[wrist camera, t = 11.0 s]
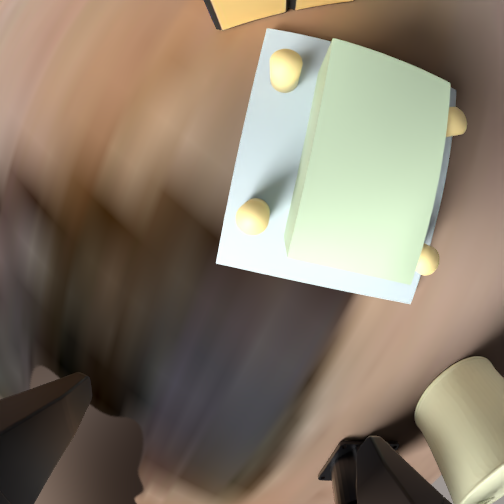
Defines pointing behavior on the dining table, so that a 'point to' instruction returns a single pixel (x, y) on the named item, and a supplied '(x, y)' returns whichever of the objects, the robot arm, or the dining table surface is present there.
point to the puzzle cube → (254, 9)
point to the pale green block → (368, 164)
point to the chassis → (285, 173)
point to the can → (466, 429)
